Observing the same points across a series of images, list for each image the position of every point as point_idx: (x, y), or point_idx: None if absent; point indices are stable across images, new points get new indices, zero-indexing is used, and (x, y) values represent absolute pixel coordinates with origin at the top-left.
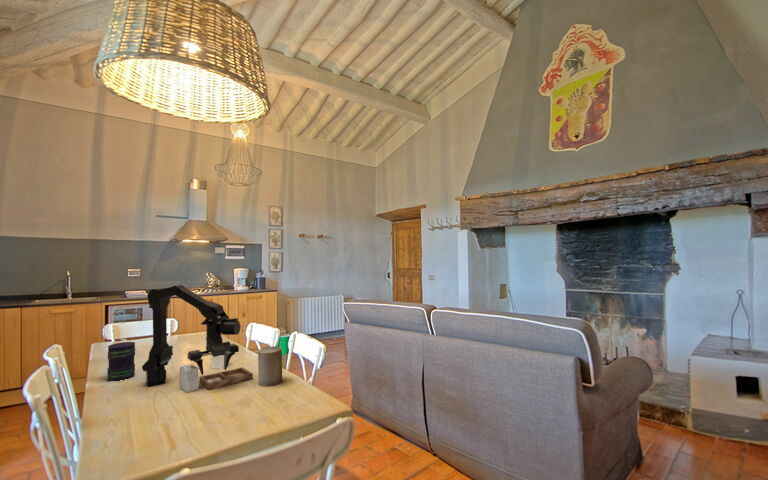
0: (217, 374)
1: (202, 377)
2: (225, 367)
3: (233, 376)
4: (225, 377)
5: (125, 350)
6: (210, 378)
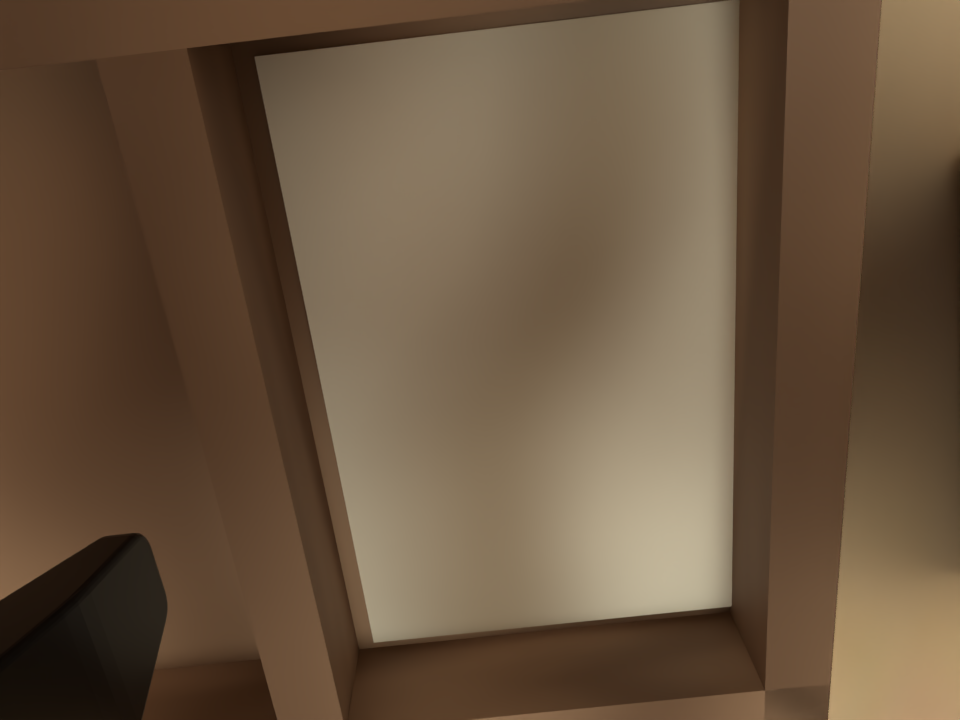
0: (386, 707)
1: (787, 646)
2: (79, 581)
3: (15, 518)
4: (208, 246)
5: None
6: (556, 644)
